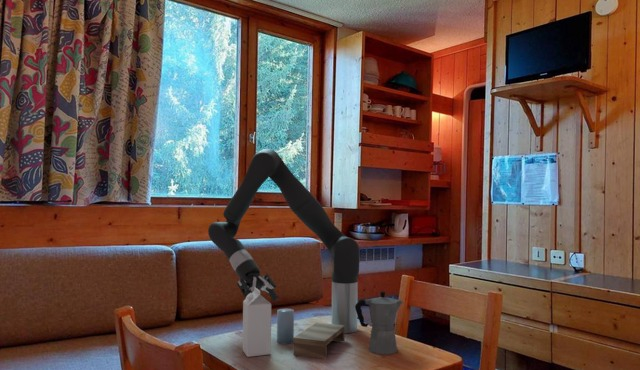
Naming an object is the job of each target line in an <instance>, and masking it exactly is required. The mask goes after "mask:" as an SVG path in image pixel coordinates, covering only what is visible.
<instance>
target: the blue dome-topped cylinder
mask: <svg viewBox="0 0 640 370" xmlns="http://www.w3.org/2000/svg"><path fill="white" fill-rule="evenodd" d="M276 311H277V312H276V343H277V344H282V345H287V344H292V343H293V344H294V337H295V334H294V333H295V330H294V329H295V310H294V309H293V308H279V309H277V310H276Z"/></svg>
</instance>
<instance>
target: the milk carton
mask: <svg viewBox="0 0 640 370" xmlns="http://www.w3.org/2000/svg"><path fill="white" fill-rule="evenodd" d="M242 351H243V353H244V354H245V356H246V357H248V358H249V357H257V356H266V355H271V354H272V303H271V302H270V301H268V299H266V298H265V297H264V296H263V295H261V289H257V288H255V287H254V291H253V292H252V293H250V294H248V295H247V296H246V297H245V299H244V300H243V301H242Z"/></svg>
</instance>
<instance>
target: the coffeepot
mask: <svg viewBox="0 0 640 370" xmlns="http://www.w3.org/2000/svg"><path fill="white" fill-rule="evenodd" d="M385 296H386V291H384V290H382V291H381V290H380V296H379V297H374V298H369V299H359V300H357V304H356V305H355V309H356V312H357V319H358V321H359V323H360V326H361V327H364V328H365V327H366V328H367V327H369V323H365V319H364V315H363V310H362V307H363V306H364V307H368V311H369V316H370V322H371V327H372V328H371V332H370V337H369V344H368V351H369V352H370V353H373V354H375V355H393V354H396V353H397V352H398V346H397V345H398V344H397V339H396V332H395V321H396V314H397V312H398V310H399V309H400V307H401V305H402V304H404V302H403V300H400V299H394V298H389V297H385Z"/></svg>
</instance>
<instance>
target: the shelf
mask: <svg viewBox="0 0 640 370" xmlns="http://www.w3.org/2000/svg"><path fill="white" fill-rule="evenodd" d="M345 334H346V333H345V325H335V324H332V323H321V322H315V323H313V324H312V325H311V326H309V327H307V328H306V329H305V330H303V331H301V332H300V333H298V334H297V335H294V342H293V351H292V352H293V354H292V355H294V356H301V357H309V358H316V359H318V358H319V359H325V360H326V359H327V357H328V356H327V355H328V354H327V353H328V351H327V350H328V349H327V347H328V346H327V345H329V344H330V343H331V342H340V343H344V342H345V337H346V335H345Z"/></svg>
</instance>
